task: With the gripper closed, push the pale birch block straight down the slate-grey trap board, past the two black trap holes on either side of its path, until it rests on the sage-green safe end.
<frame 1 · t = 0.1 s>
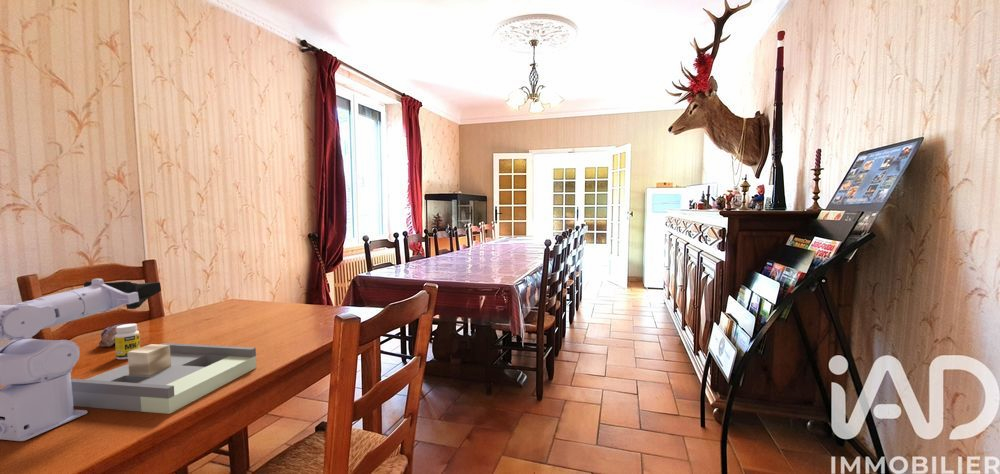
hand: (144, 286, 89), 22 cm above the table, tool horizontal, fingers open, 7 cm apart
trap board: (167, 384, 88), on the table
birch block: (150, 370, 88), point 3 cm above the table, touching trap board
skull: (118, 343, 116), on the table
supplement bottle: (128, 357, 105), on the table
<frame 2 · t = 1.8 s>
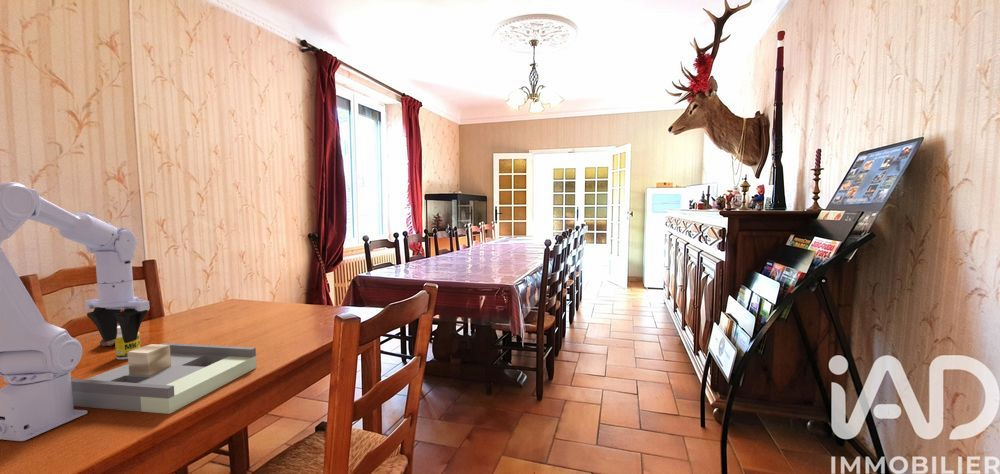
hand: (120, 340, 89), 9 cm above the table, tool pointing down, fingers open, 5 cm apart
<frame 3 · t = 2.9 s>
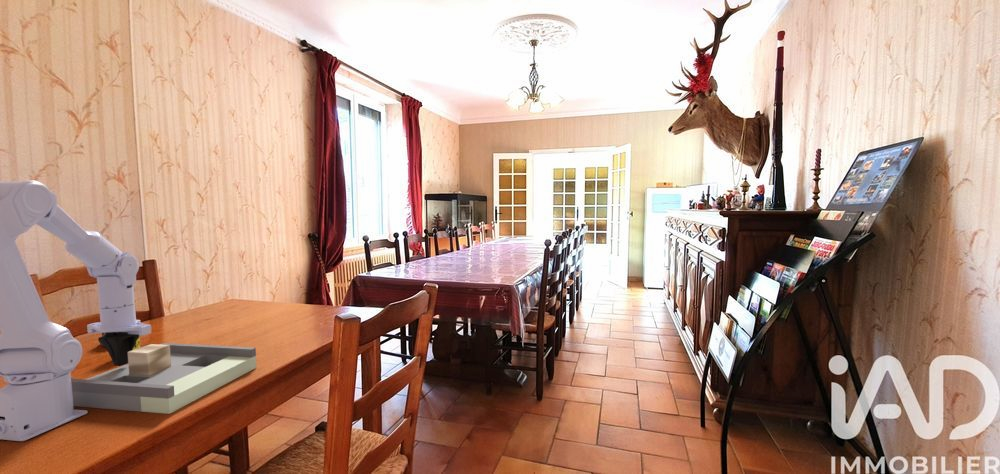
hand: (122, 364, 89), 4 cm above the table, tool pointing down, fingers closed
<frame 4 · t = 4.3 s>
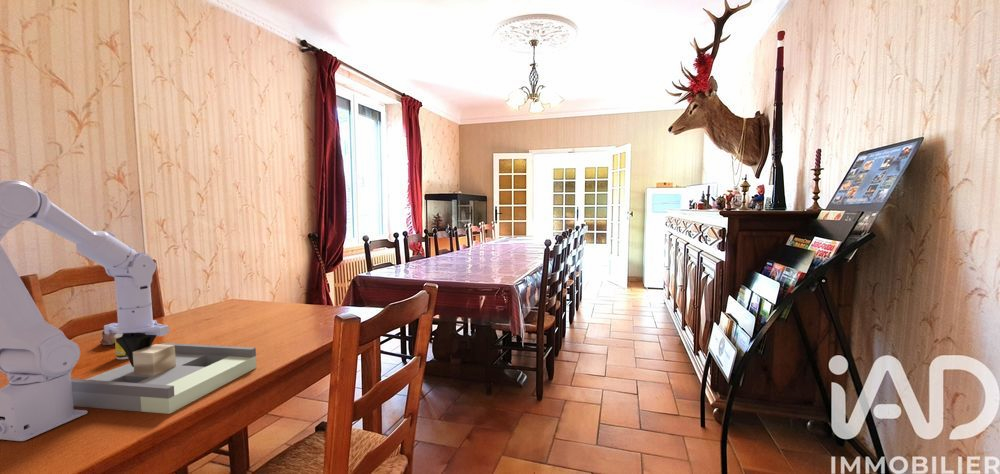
hand: (139, 365, 89), 4 cm above the table, tool pointing down, fingers closed
birch block: (155, 370, 88), point 3 cm above the table, touching gripper, trap board
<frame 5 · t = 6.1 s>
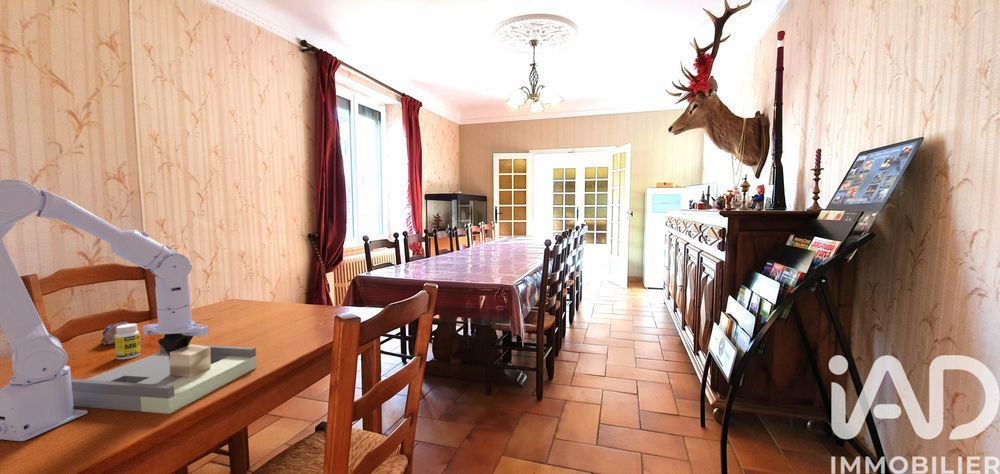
hand: (178, 366, 87), 4 cm above the table, tool pointing down, fingers closed, pressing on birch block
birch block: (190, 371, 87), point 3 cm above the table, touching gripper, trap board
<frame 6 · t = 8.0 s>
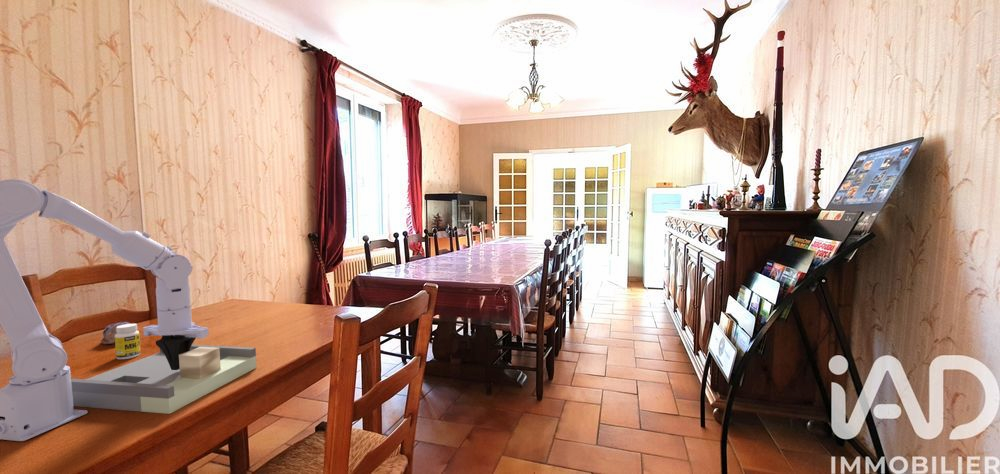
hand: (178, 368, 87), 4 cm above the table, tool pointing down, fingers closed
birch block: (201, 373, 86), point 3 cm above the table, touching trap board
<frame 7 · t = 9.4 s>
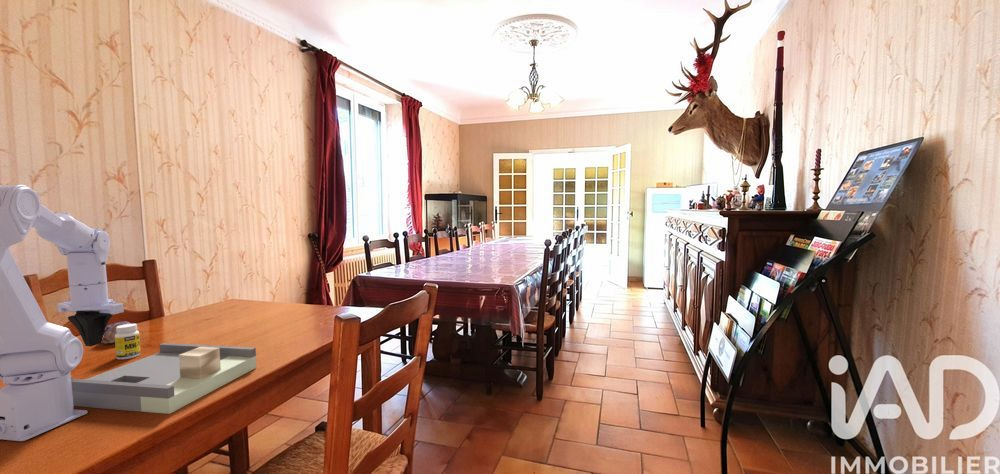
hand: (93, 344, 86), 9 cm above the table, tool pointing down, fingers closed
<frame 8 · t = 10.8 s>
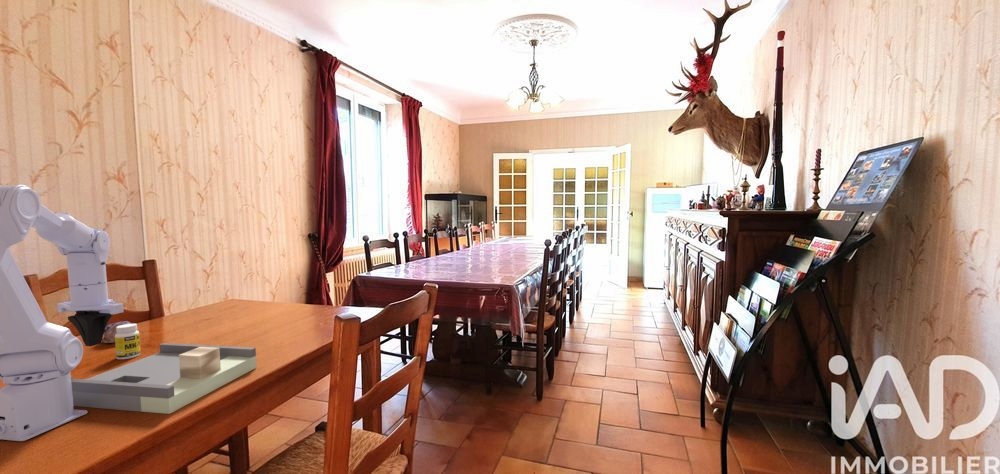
hand: (93, 344, 86), 9 cm above the table, tool pointing down, fingers closed
at the end: birch block inside the target area (0.6 cm from its centre), point 3.0 cm above the table; birch block tilted 0°; the gripper is holding nothing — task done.
